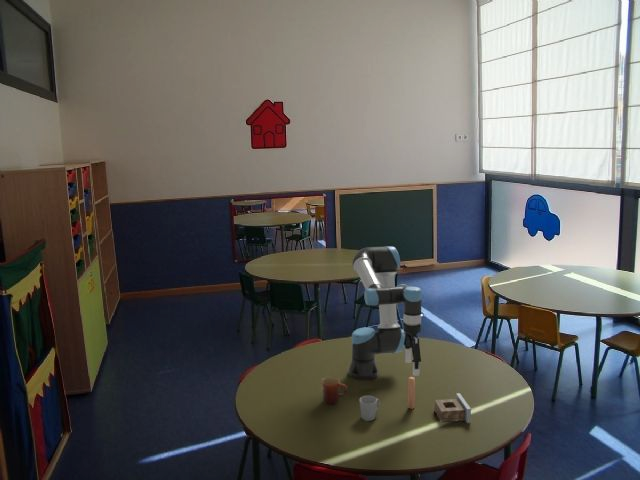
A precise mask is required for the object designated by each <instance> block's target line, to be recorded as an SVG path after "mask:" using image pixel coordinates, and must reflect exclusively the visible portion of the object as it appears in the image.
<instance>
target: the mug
mask: <svg viewBox="0 0 640 480" xmlns="http://www.w3.org/2000/svg"><path fill="white" fill-rule="evenodd" d="M320 383H321V385H322V400H323V403H325V404H326V405H328V406H331V405H332V406H334V405H336V404H338V403H339V402H340V398H342V397H344V396H345V395H346V394H347V392H348V386H347V384H345V383H341V380H340V378H338V377H334V376H328V377H324V378H322V379H321V382H320ZM340 387H344V392H343V393H340Z"/></svg>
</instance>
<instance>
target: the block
mask: <svg viewBox="0 0 640 480" xmlns="http://www.w3.org/2000/svg"><path fill="white" fill-rule="evenodd" d="M434 412H435V414H436V413H437V414H436V415H437V417H438V419H439V418H440V419H439V421H440V420H441V421H440V422H441V423H447V422H446V421H451V422H457V421H456V420H464V419H465V410H464V408H463V407H462V405H461V404H460V402H459V401H458V400H457V399H456V398H448V399H434ZM443 421H445V422H443ZM464 421H465V420H464Z"/></svg>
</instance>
